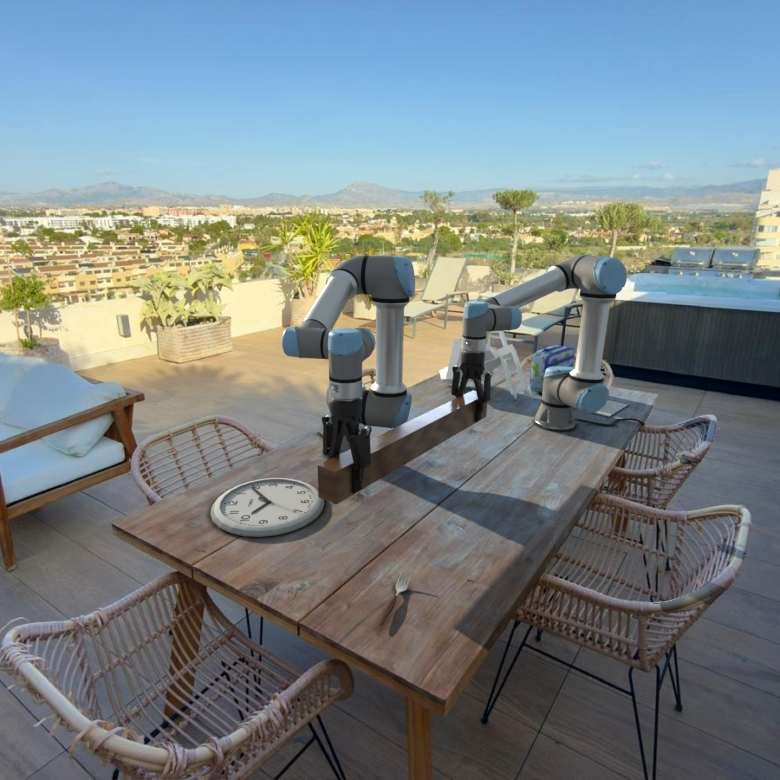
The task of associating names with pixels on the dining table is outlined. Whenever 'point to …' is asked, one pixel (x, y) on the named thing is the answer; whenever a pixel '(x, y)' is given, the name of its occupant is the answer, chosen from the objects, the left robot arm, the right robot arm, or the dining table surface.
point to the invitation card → (611, 408)
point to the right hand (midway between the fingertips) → (469, 418)
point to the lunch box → (548, 363)
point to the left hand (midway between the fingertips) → (346, 487)
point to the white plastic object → (488, 363)
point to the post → (398, 447)
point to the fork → (400, 588)
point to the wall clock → (267, 507)
